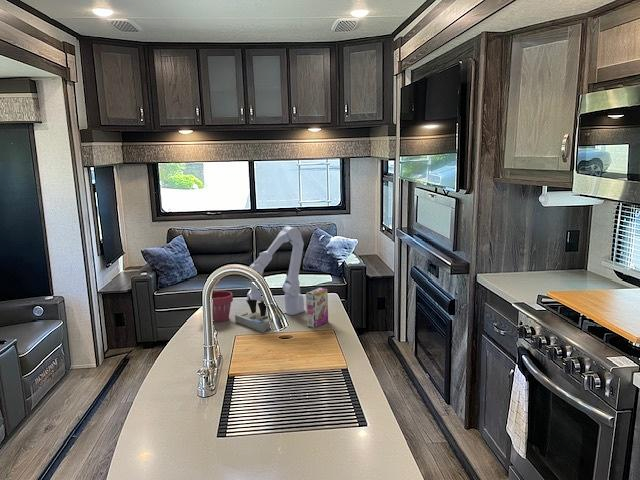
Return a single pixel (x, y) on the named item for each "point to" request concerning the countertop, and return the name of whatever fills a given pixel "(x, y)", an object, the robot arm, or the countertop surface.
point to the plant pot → (221, 305)
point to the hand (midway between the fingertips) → (258, 314)
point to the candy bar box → (317, 307)
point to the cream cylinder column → (257, 315)
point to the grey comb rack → (252, 322)
